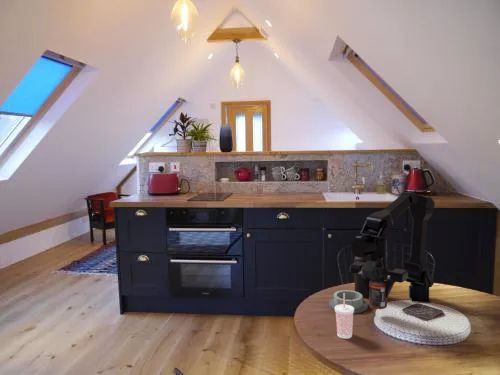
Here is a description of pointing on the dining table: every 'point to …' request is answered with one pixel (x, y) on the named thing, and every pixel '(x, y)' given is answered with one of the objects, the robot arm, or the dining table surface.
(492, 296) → the dining table surface
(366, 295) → the vinegar
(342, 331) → the beverage cup
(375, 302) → the supplement bottle
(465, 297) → the dining table surface
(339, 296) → the can holder
